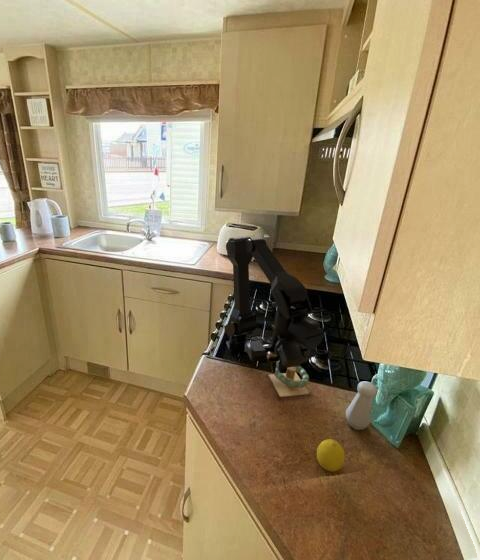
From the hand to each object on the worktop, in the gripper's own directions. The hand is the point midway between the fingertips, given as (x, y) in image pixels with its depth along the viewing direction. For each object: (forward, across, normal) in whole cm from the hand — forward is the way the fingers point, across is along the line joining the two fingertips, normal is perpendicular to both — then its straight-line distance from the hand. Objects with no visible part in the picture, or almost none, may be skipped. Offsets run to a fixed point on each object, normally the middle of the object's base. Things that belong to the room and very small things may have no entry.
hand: (276, 372), depth 90 cm
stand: (+6, +4, 0) cm, 7 cm away
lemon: (+6, +2, -25) cm, 26 cm away
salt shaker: (+6, +16, -15) cm, 23 cm away
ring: (+1, +4, 0) cm, 4 cm away
